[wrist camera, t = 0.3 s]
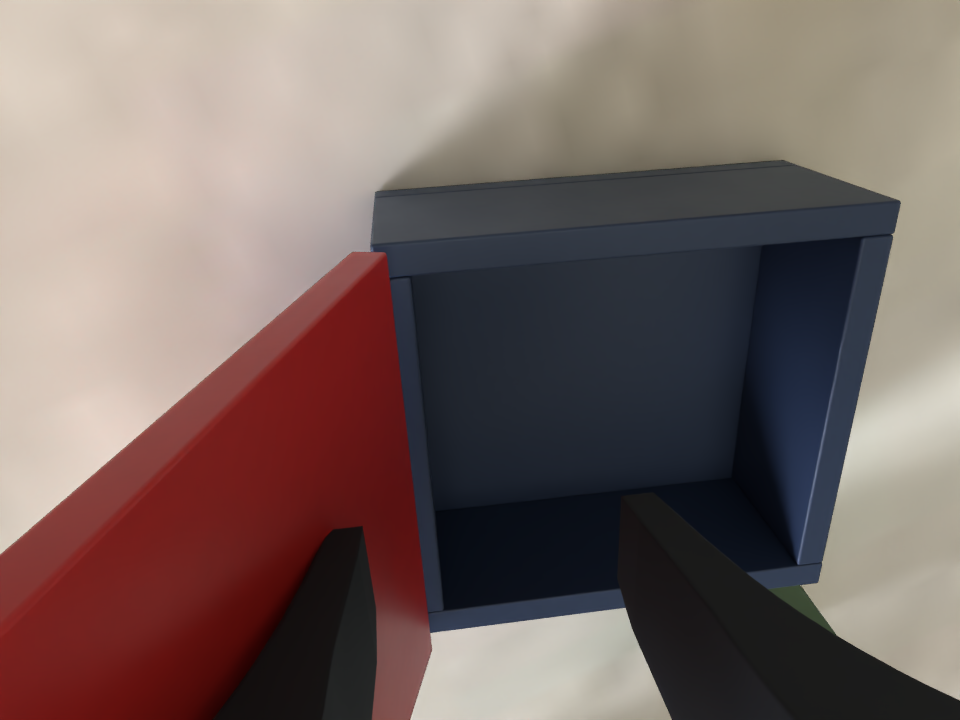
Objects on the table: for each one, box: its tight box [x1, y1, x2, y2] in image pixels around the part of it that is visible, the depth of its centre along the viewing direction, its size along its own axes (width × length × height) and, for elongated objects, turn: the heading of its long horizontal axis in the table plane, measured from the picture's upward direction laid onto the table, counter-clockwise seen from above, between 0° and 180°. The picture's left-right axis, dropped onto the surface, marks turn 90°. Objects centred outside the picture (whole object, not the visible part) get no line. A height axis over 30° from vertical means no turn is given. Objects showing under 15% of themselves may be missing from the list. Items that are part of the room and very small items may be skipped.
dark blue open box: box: [370, 160, 901, 633], centre depth 20 cm, size 12×12×5 cm
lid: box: [0, 252, 432, 720], centre depth 11 cm, size 13×12×1 cm
